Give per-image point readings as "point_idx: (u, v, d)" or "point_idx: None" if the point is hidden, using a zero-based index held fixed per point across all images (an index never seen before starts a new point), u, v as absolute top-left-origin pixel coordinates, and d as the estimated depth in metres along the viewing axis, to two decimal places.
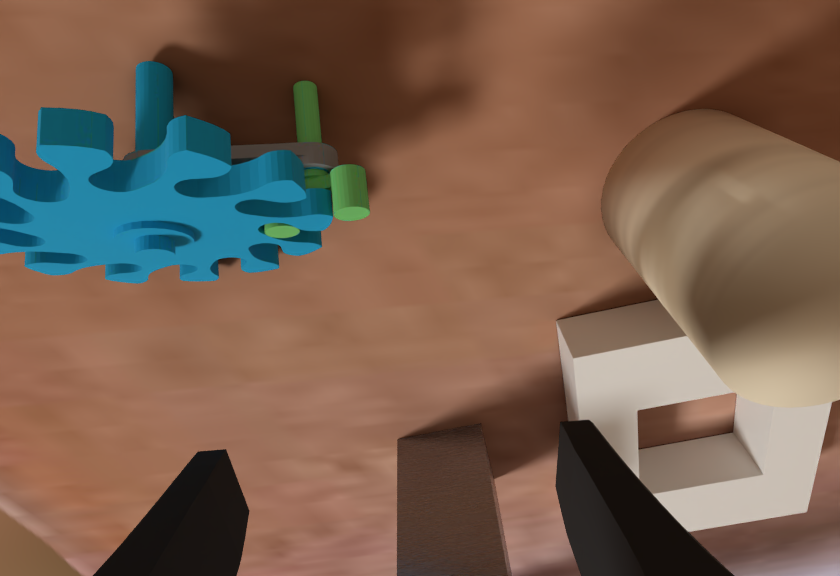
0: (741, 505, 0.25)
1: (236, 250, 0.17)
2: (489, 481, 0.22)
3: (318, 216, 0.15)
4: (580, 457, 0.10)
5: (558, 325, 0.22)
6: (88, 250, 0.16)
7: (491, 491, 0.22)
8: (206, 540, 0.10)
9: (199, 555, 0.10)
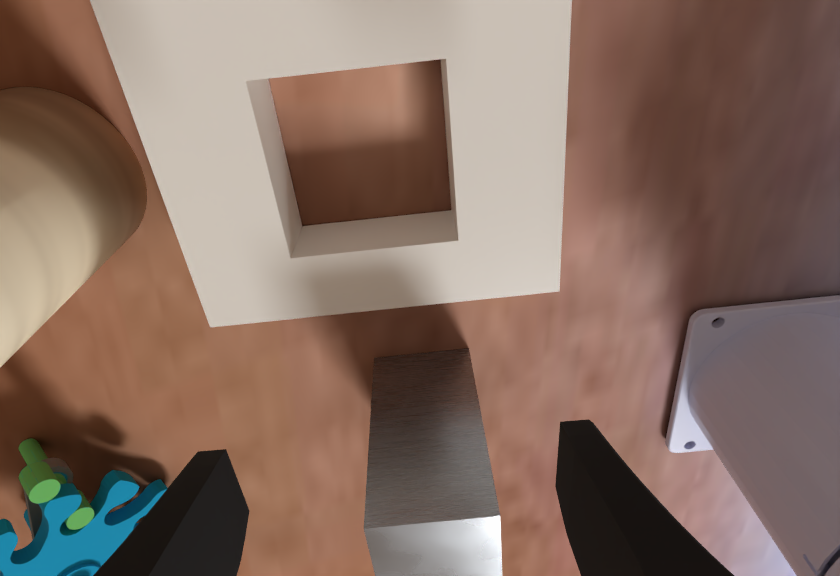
0: (518, 81, 0.15)
1: (118, 530, 0.24)
2: (371, 414, 0.20)
3: (49, 509, 0.21)
4: (580, 457, 0.10)
5: None
6: None
7: (370, 424, 0.19)
8: (206, 540, 0.10)
9: (199, 554, 0.10)
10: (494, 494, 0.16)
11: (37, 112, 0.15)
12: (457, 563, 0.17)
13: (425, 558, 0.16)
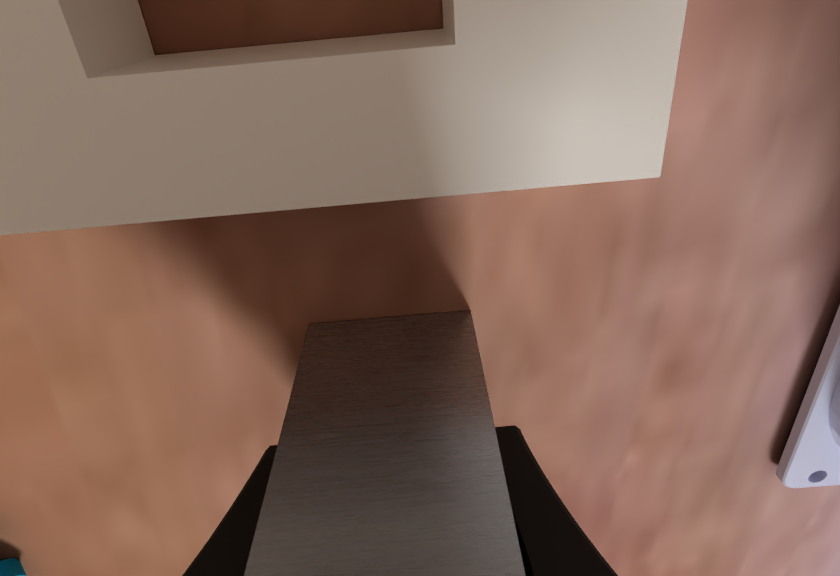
0: None
1: None
2: (285, 421, 0.10)
3: None
4: None
5: None
6: None
7: (279, 441, 0.10)
8: None
9: None
10: None
11: None
12: None
13: None
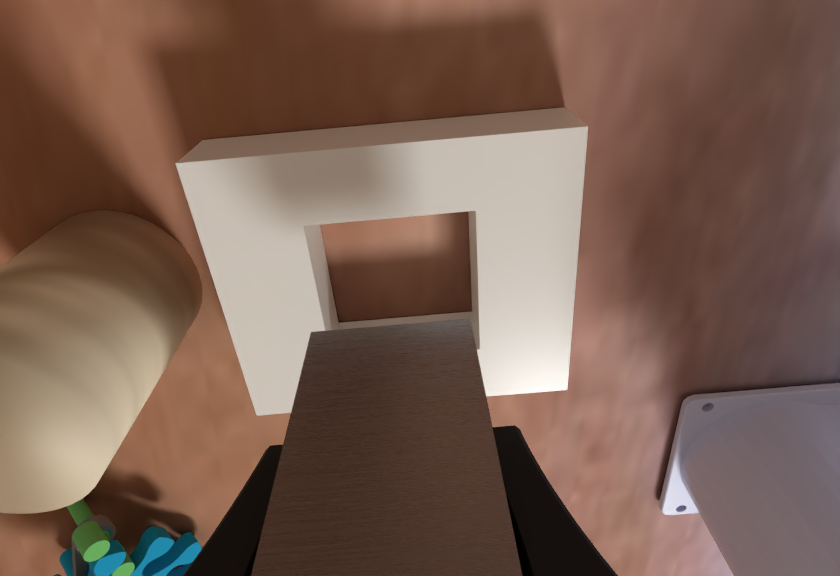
0: (537, 228, 0.17)
1: None
2: (288, 430, 0.11)
3: (98, 566, 0.23)
4: None
5: None
6: None
7: (282, 449, 0.10)
8: None
9: None
10: None
11: (119, 243, 0.17)
12: None
13: None
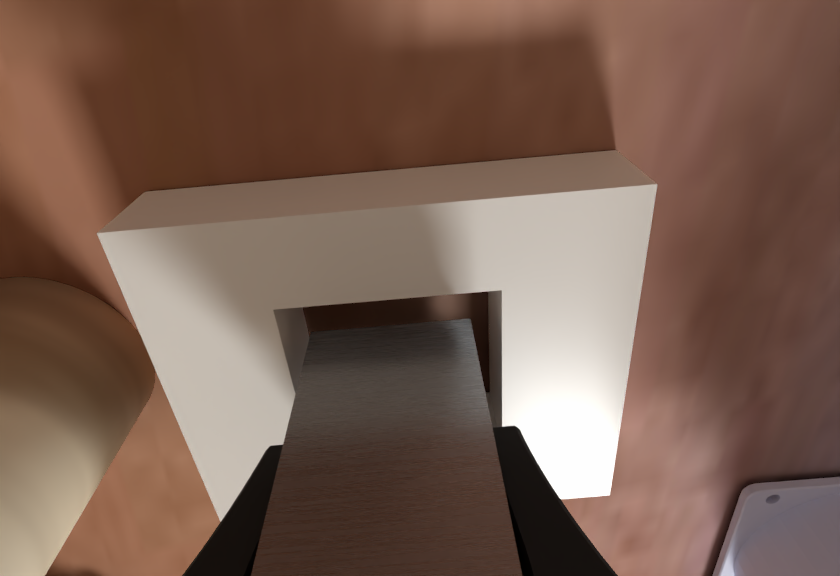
0: (582, 311, 0.13)
1: None
2: (288, 430, 0.11)
3: None
4: None
5: None
6: None
7: (282, 449, 0.10)
8: None
9: None
10: None
11: (34, 328, 0.13)
12: None
13: None
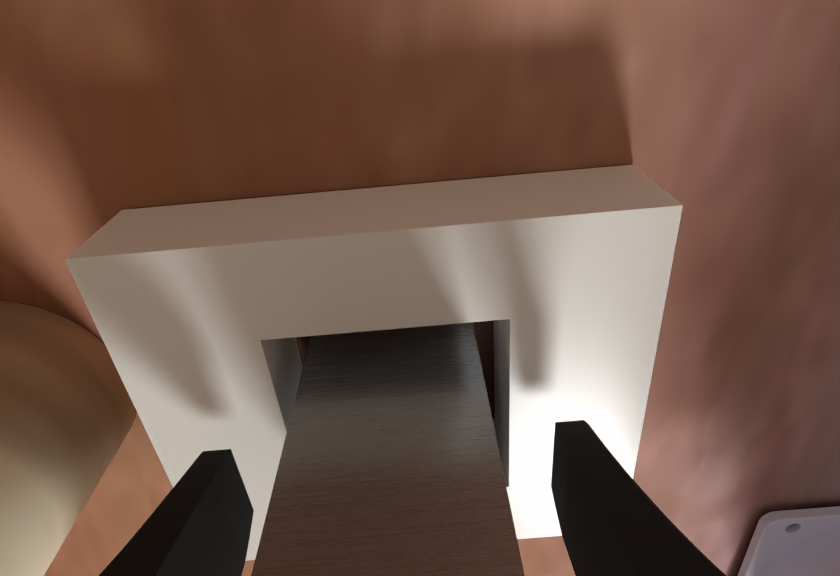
0: (597, 341, 0.12)
1: None
2: (297, 395, 0.11)
3: None
4: (575, 458, 0.10)
5: None
6: None
7: (292, 411, 0.11)
8: (212, 540, 0.10)
9: (205, 554, 0.10)
10: (516, 554, 0.08)
11: (2, 358, 0.12)
12: None
13: None
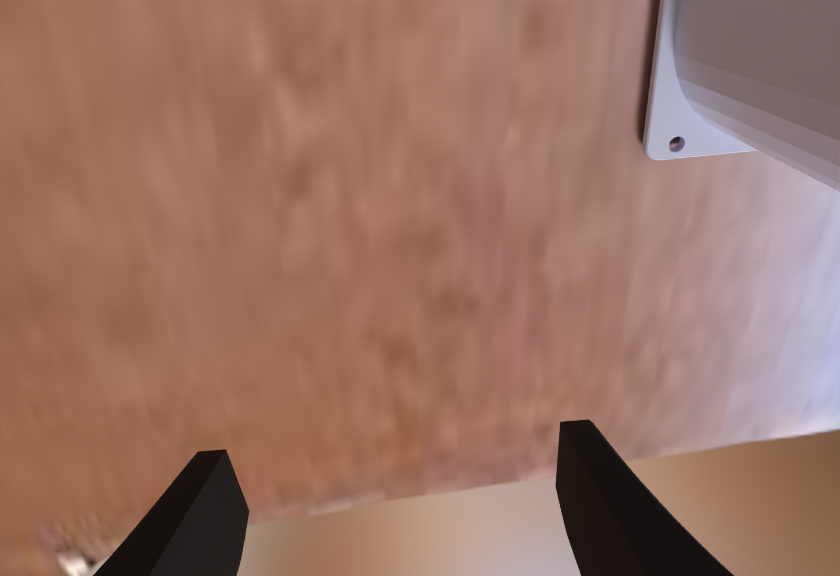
0: None
1: None
2: None
3: None
4: (580, 457, 0.10)
5: None
6: None
7: None
8: (206, 540, 0.10)
9: (199, 554, 0.10)
10: None
11: None
12: None
13: None
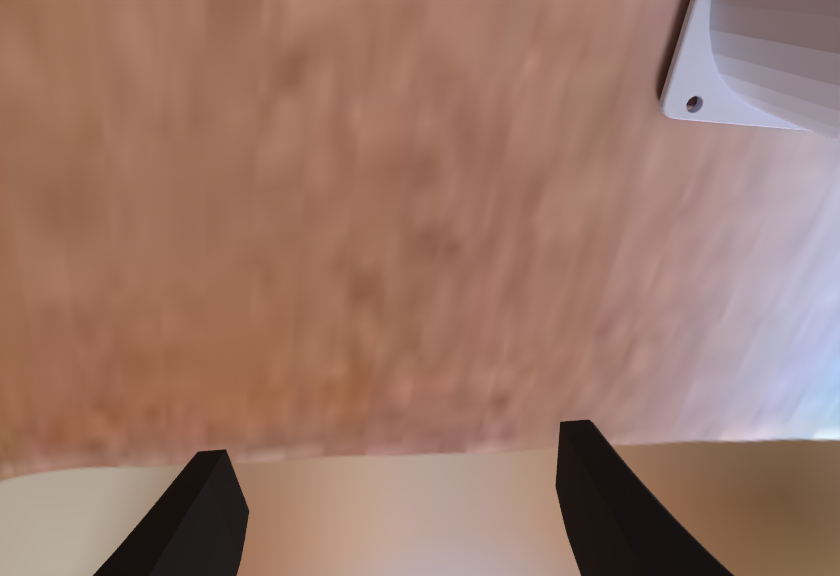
0: None
1: None
2: None
3: None
4: (580, 457, 0.10)
5: None
6: None
7: None
8: (206, 540, 0.10)
9: (200, 554, 0.10)
10: None
11: None
12: None
13: None
